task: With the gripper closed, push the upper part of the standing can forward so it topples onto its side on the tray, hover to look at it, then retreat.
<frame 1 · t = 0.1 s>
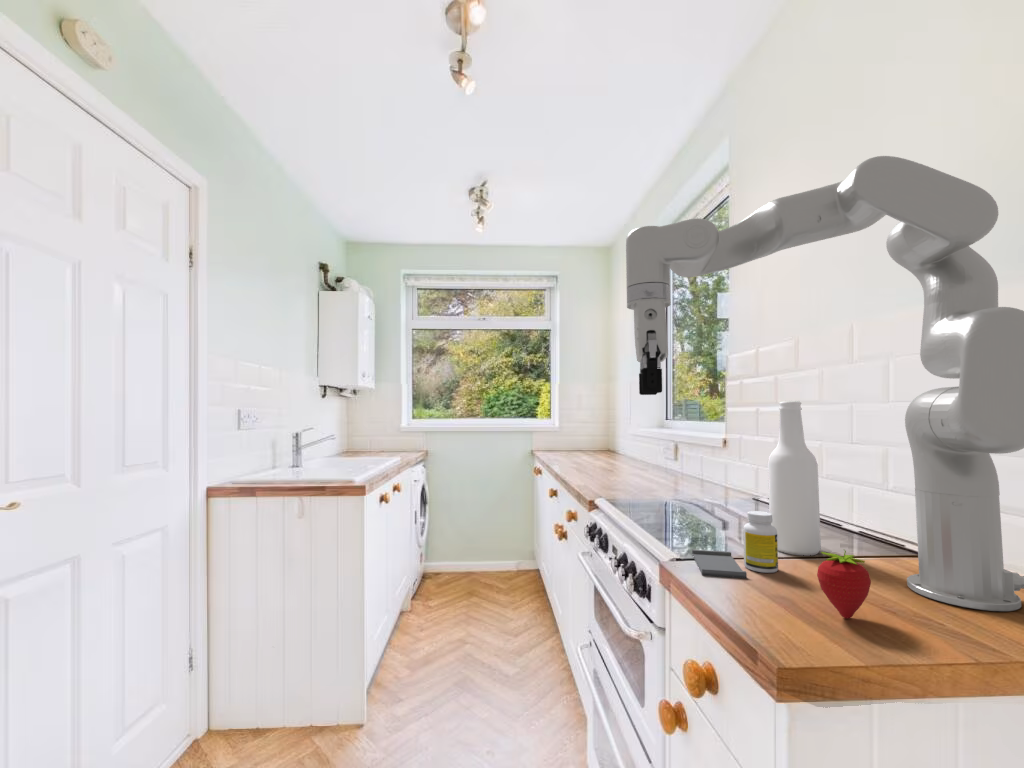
hand: (650, 393, 84), 31 cm above the countertop, tool pointing down, fingers open, 9 cm apart
tray: (717, 565, 87), on the countertop
alcohol: (795, 550, 96), on the countertop
strawberry: (845, 619, 65), on the countertop
supplement bottle: (761, 569, 85), on the countertop
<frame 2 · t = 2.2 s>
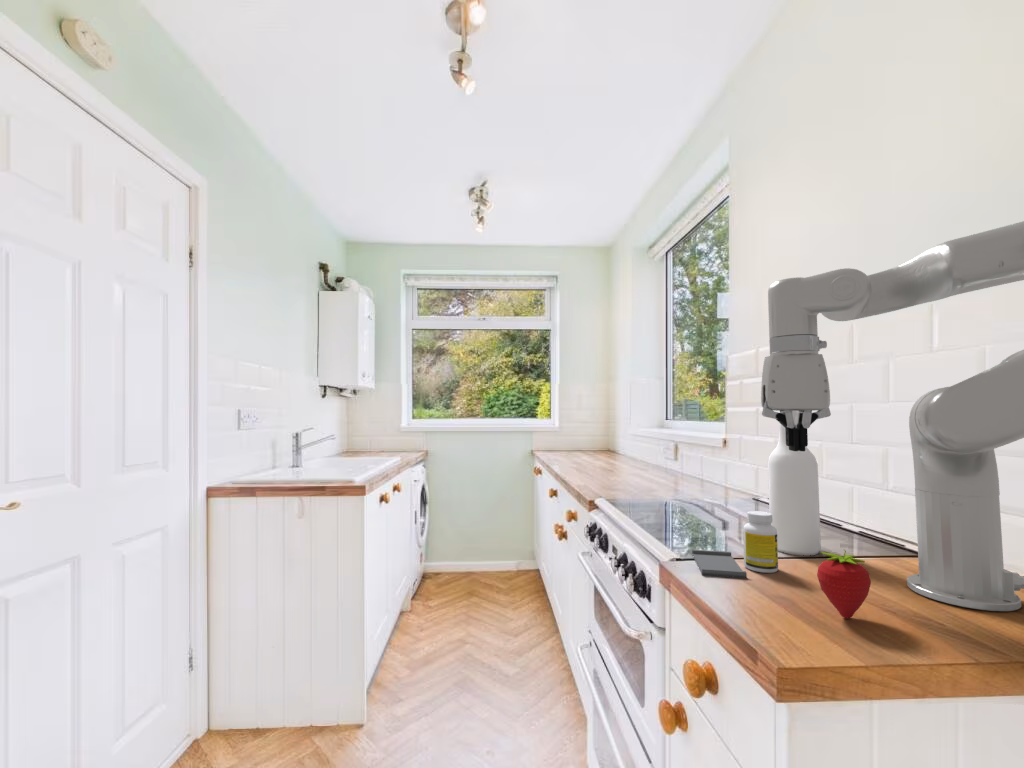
hand: (796, 450, 85), 21 cm above the countertop, tool pointing down, fingers closed
nothing on the countertop moved.
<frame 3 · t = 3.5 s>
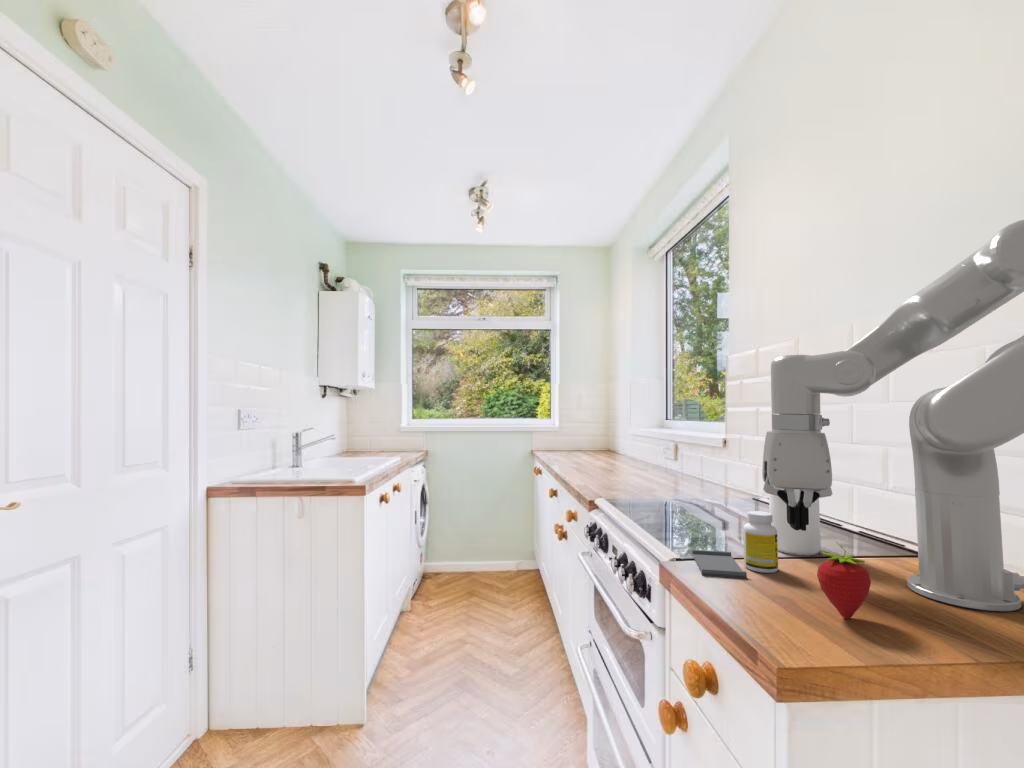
hand: (797, 528, 84), 7 cm above the countertop, tool pointing down, fingers closed
nothing on the countertop moved.
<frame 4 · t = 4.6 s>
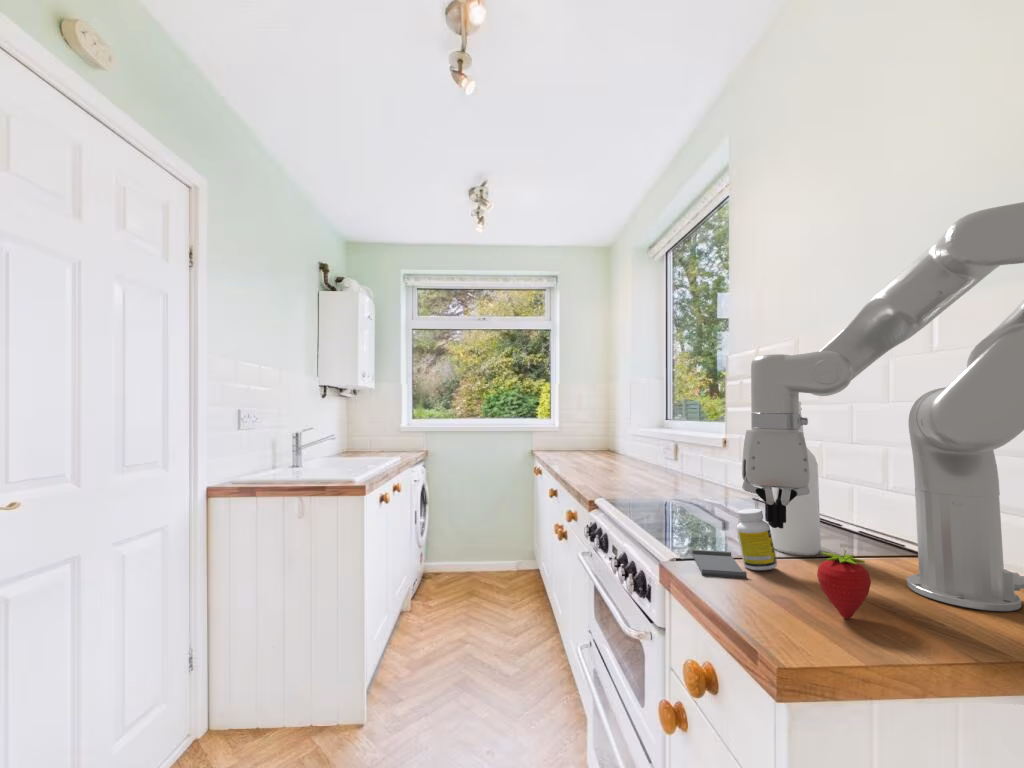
hand: (775, 526, 85), 8 cm above the countertop, tool pointing down, fingers closed
supplement bottle: (761, 567, 85), on the countertop, touching gripper
everything else where it was.
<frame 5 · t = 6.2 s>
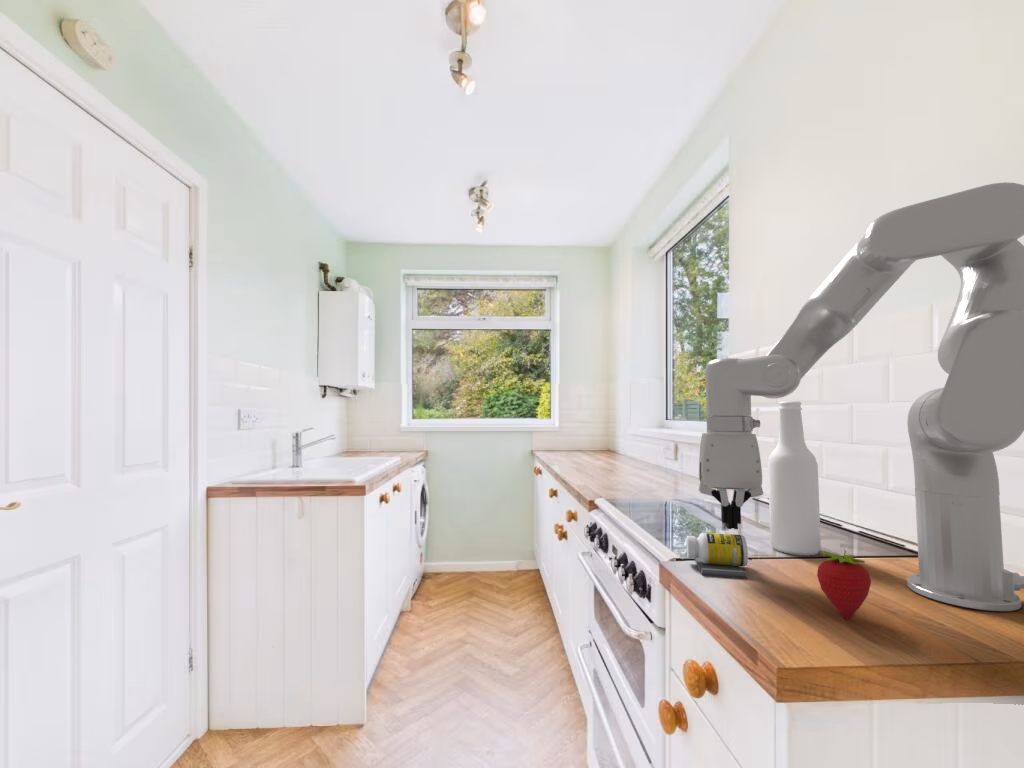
hand: (731, 527, 86), 7 cm above the countertop, tool pointing down, fingers closed
supplement bottle: (746, 550, 85), point 3 cm above the countertop, touching tray
everything else where it was.
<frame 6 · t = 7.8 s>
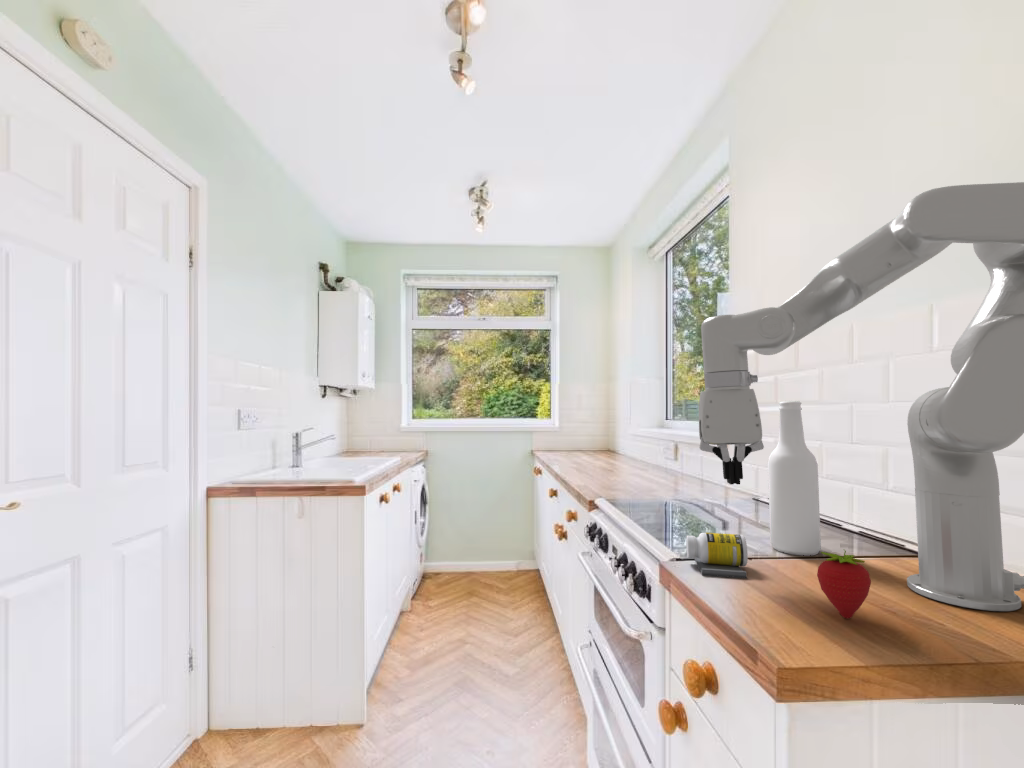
hand: (733, 483, 87), 15 cm above the countertop, tool pointing down, fingers closed
nothing on the countertop moved.
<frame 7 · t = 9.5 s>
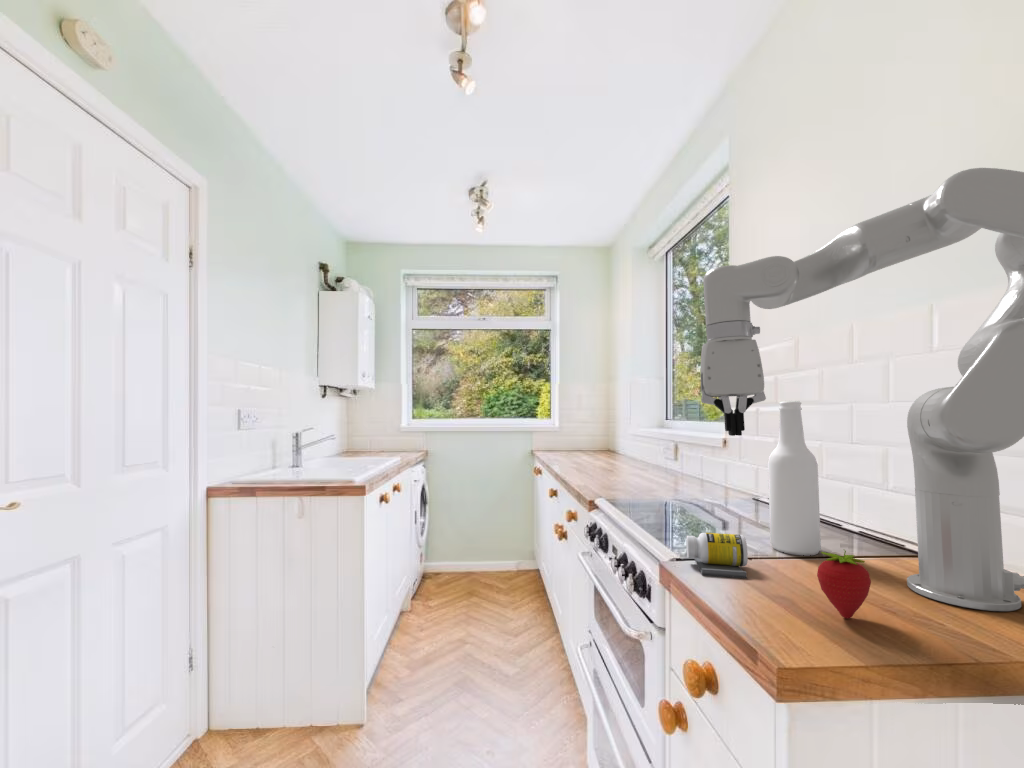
hand: (735, 435, 86), 24 cm above the countertop, tool pointing down, fingers closed
nothing on the countertop moved.
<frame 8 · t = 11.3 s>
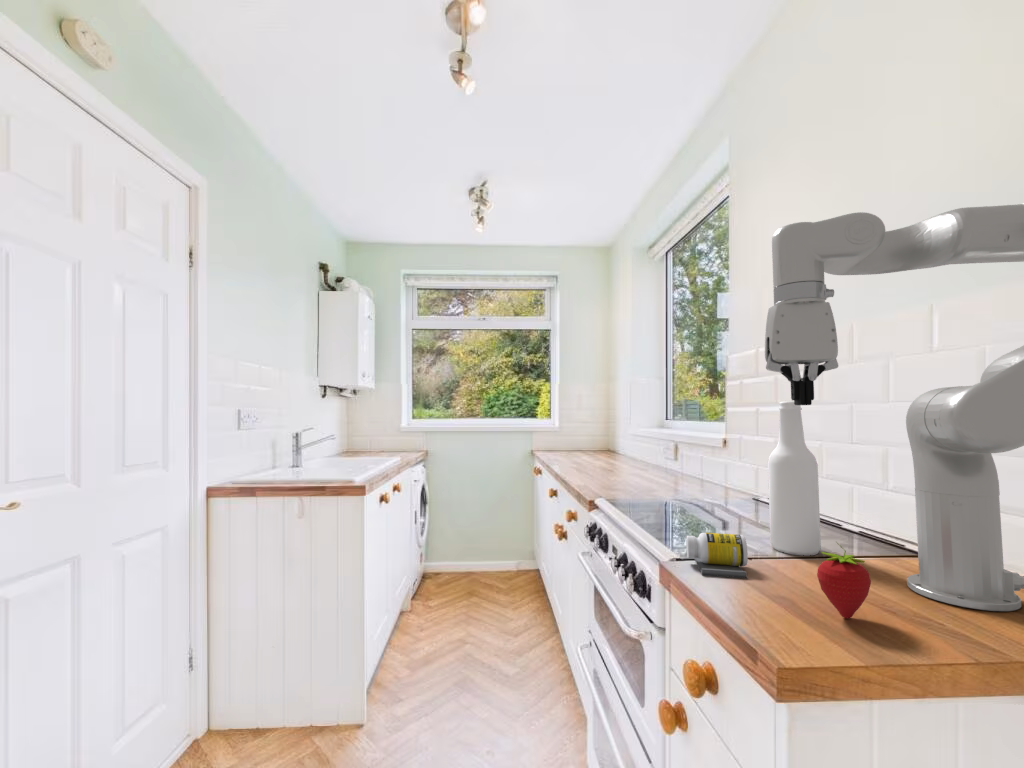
hand: (802, 404, 80), 29 cm above the countertop, tool pointing down, fingers closed
nothing on the countertop moved.
at the end: supplement bottle tilted 91°; supplement bottle inside the target area (3.6 cm from its centre), point 3.1 cm above the countertop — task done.
